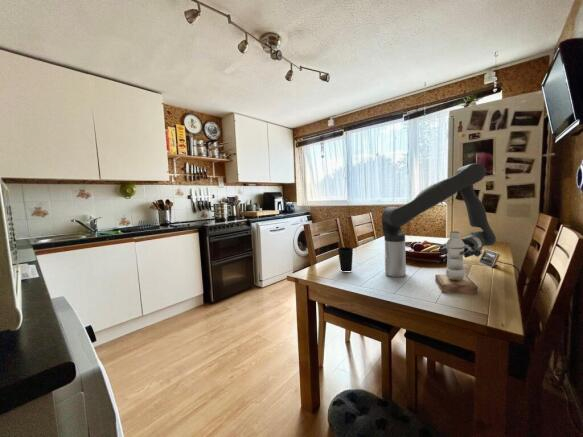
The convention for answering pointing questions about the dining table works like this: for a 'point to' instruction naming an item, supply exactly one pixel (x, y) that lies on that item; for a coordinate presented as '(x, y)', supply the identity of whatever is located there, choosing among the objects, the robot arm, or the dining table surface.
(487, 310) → the dining table surface
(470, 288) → the plinth
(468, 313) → the dining table surface
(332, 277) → the dining table surface
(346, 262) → the cup
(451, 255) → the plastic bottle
